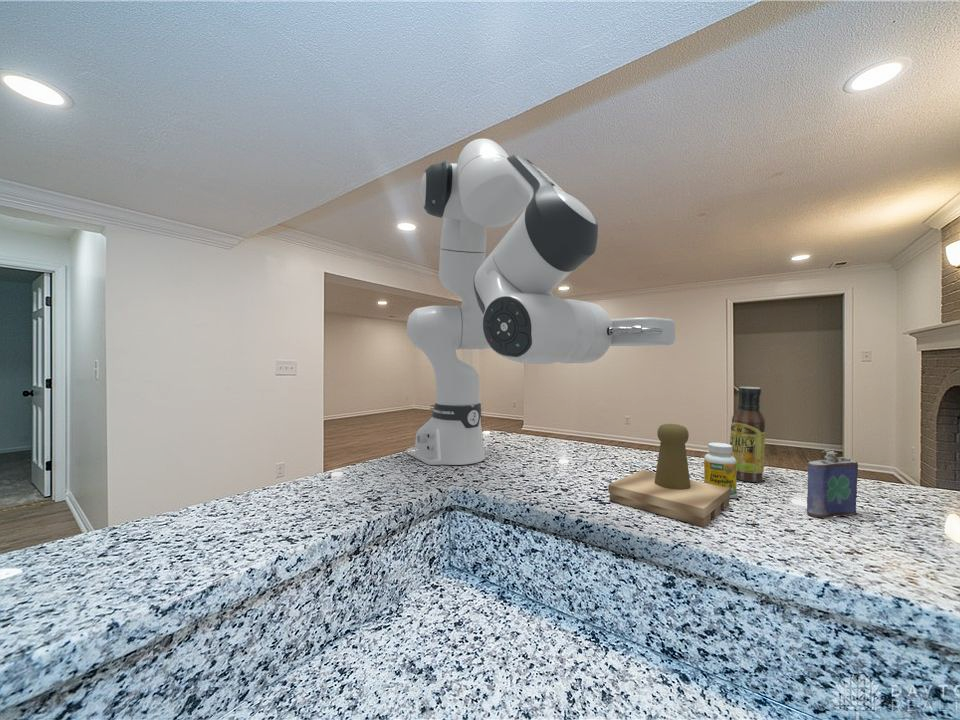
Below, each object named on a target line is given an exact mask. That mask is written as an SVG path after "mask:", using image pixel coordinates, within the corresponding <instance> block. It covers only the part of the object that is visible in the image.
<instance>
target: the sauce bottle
mask: <svg viewBox="0 0 960 720" xmlns="http://www.w3.org/2000/svg"><path fill="white" fill-rule="evenodd" d="M737 393H738V395H739V396H738V397H739V398H738V404H737V405H738V408H737V410H735V412H734V414H733V415H732V418H731V423H730V438H729V442H730V443H729V445H732V453H731V456H733V457H734V458H735V459H736V480H740V481H743V482H750V483H760V482H762V480H763V475H764V472H765V471H764V470H765V469H764V468H765V467H764V466H765V446H766V445H765V444H766V420H765V417H764V415H763V413H761V410H760V407H761V406H760V401H761V400H760V397H761V394H762V388H761V387H759V386H738V391H737Z"/></svg>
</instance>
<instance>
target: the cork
mask: <svg viewBox="0 0 960 720" xmlns="http://www.w3.org/2000/svg"><path fill="white" fill-rule="evenodd" d="M657 438H658V440H659V442H660V443H659V444H660V445H659V451H658V457H657V463H656V471H655V473H656V476H655V482H654V483H655V484H656V485H658V486H661V487H664V488H668V489H675V490H685V489H689V488H691V485H690V480H691V479H690V472H689V465H688V464H689V463H688V456H687V449H686V448H687V447H686V443H687V442H688V440H689V430H688V428H687V427H686V426H684V425H680V424H677V423H665V424H661V425H660V426H659V427H658V429H657Z"/></svg>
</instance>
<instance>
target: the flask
mask: <svg viewBox="0 0 960 720" xmlns="http://www.w3.org/2000/svg"><path fill="white" fill-rule="evenodd" d="M822 453H826V454H825V455H824V459H821V460H812V461H811V460H810V461H809V462H807V499H806V514H807V515H808V516H811V517H813V518H815V519H816V518H821V519H828V518H834V517H833V516H839V517H840V516H843V515H845V516H852V515H853V516H855V515H854V514H856V515H857V507H856V506H857V495H858V489H857V487H858V471H859V465H858V464H859V463H858V461H855V460H852V459H851V458H846V457H844V456H840V457H837V456H836V455H838V452H835V451H834V450H831V449H824V450H822ZM843 517H844V516H843Z"/></svg>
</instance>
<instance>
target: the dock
mask: <svg viewBox="0 0 960 720" xmlns="http://www.w3.org/2000/svg"><path fill="white" fill-rule="evenodd" d="M655 476H656V471H649V470H645V469H641V470H639V471H638V470H637V471H636V472H633V473H631V474H630V475H626V476H625V477H623V478H620V479H619V480H616V481H613V482H612V483H610V484H608V486H607V487H608V488H607V489H608V494H609V501H610V500H612V501H611V502H614V501H615V502H614V503H617V502H618V504H621V505H625V506H629V507H632V508H636V509H639V510H642V511H645V512H649V513H653V514H656V515H661V516H664V517H668V518H671V519H674V520H678V521H681V522H682V521H683V522H685V523H688V524H692V525H696V526H699V527H702V526H703V528H705V527H706V526H708V525H709V524H710V523H711V521H712V518H713V519H715V518H717V517H718V516H719V515H720V514H721V510H723V511H724V510H726V509H727V508H729V506H730V498H729V497H730V488H727V487H722V486H717V485H712V484H707V483H704V481H703V482H702V481H697V480H692V479H690V485H691V488H689V489H685V490H675V489H668V488H664V487H661V486H658V485H656V484H655V483H654V482H655Z"/></svg>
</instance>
